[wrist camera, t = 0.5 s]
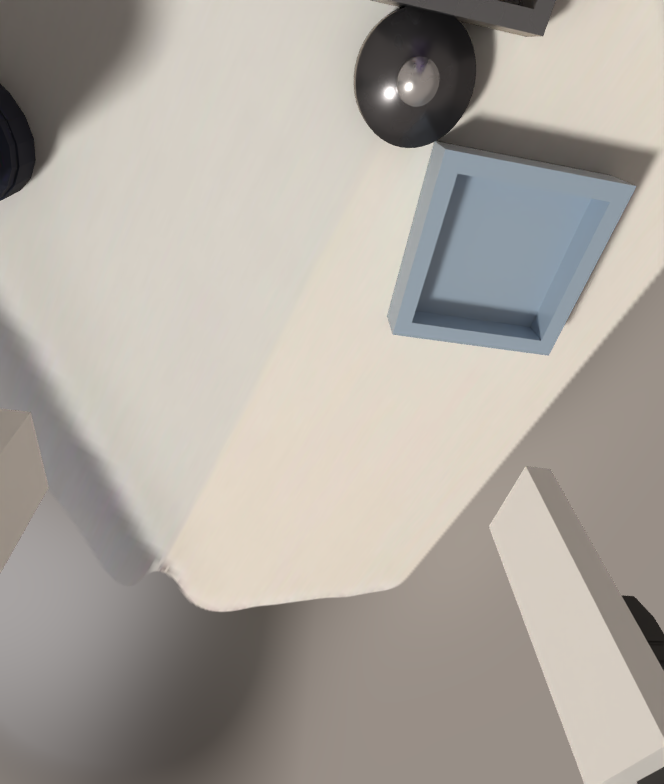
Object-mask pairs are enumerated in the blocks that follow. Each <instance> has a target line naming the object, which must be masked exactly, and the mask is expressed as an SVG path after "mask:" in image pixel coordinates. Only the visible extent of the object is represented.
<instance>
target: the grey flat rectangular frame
mask: <svg viewBox="0 0 664 784" xmlns="http://www.w3.org/2000/svg"><path fill="white" fill-rule="evenodd" d="M372 1H376V2H380V3H385V4H389V5H393V6H398V7H402V9H399V10H397V11H394V12H393V13H391V14H389V15H387V16H386V17H385V18H383V19H382V20H381V21H380V22H379V23H378V24H377V25H375V26H374V28H373V29H372V30H371V31H370V33H369V34H368V36H367V37H366V39H365V40H364V42H363V44H362V46H361V49H360V51H359V54H358V57H357V60H356V65H355V71H354V93H355V98H356V102H357V105H358V108H359V111H360V113H361V115H362V117H363V118H364V120H365V121H366V123H367V124H368V126H369V127H370V128H371V129H372V130H373V132H374V133H375V134H376V135H378V136H379V137H380V138H381V139H383V140H384V141H386V142H388V143H390V144H392V145H395V146H399V147H405V148H416V147H421V146H425V145H428V144H430V143H432V142H435V141H437V140H438V139H440V138H441V137H443V136H444V135H445V134H446V133H448V132H449V131H450V130H451V129H452V128H453V127H454V126H455V125H456V123H457V122H458V121H459V120H460V118H461V117H462V115H463V113H464V112H465V110H466V108H467V106H468V104H469V101H470V98H471V96H472V93H473V88H474V84H475V76H476V61H475V54H474V49H473V45H472V42H471V39H470V37H469V35H468V33H467V31H466V30H465V28H464V27H463V25H462V24H461V23H460V22H459V21H461V22H466V23H470V24H474V25H479V26H483V27H487V28H491V29H496V30H500V31H504V32H508V33H513V34H517V35H521V36H525V37H532V36H543V35H544V32H545V29H546V26H547V24H548V21H549V18H550V15H551V12H552V9H553V6H554V4H555V1H556V0H521V1H520V4H519V5H515V4H510V3H506V2H502V1H498V0H372Z"/></svg>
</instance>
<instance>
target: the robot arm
mask: <svg viewBox="0 0 664 784" xmlns="http://www.w3.org/2000/svg"><path fill="white" fill-rule="evenodd" d="M48 488H49V486H48V482H47V478H46V474H45V470H44V466H43V461H42V457H41V453H40V449H39V445H38V441H37V437H36V433H35V428H34V424H33V420H32V416H31V412H25V411H16V410H7V409H0V573H1V571H2V570H3V568H4V566H5V564H6V563H7V561H8V559H9V557H10V555H11V554H12V552H13V550H14V548H15V546H16V545H17V543H18V541H19V540H20V538H21V536H22V534H23V533H24V531H25V529H26V527H27V525H28V524H29V522H30V520H31V518H32V516H33V514H34V513H35V511H36V510H37V508H38V506H39V504H40V503H41V501H42V499H43V497H44V495H45V493H46V492H47V490H48ZM489 528H490V531H491V533H492V536H493V539H494V541H495V544H496V547H497V549H498V552H499V555H500V558H501V560H502V563H503V566H504V568H505V571H506V574H507V576H508V579H509V582H510V585H511V587H512V590H513V593H514V595H515V598H516V601H517V603H518V606H519V609H520V611H521V614H522V617H523V619H524V622H525V625H526V628H527V630H528V633H529V636H530V638H531V641H532V644H533V647H534V649H535V652H536V654H537V657H538V660H539V663H540V665H541V668H542V671H543V673H544V676H545V679H546V682H547V684H548V687H549V690H550V692H551V695H552V698H553V700H554V703H555V706H556V708H557V711H558V714H559V717H560V719H561V722H562V725H563V727H564V730H565V733H566V736H567V738H568V741H569V744H570V746H571V749H572V752H573V754H574V757H575V759H576V762H577V765H578V768H579V771H580V773H581V776H582V779H583V781H584V784H635V783H638V784H664V634H663V632H662V630H661V628H660V627H659V625H658V623H657V622H656V620H655V619H654V617H653V616H652V615H651V614H650V613H649V612H648V611H647V610H646V609H645V607H643V605H642V604H641V603H640V602H639V601H638V600H637V599H636V598H635V597H634V596H621V594H620V592H619V590H618V589H617V587H616V585H615V583H614V581H613V580H612V578H611V576H610V574H609V573H608V571H607V569H606V567H605V565H604V564H603V562H602V560H601V558H600V556H599V555H598V553H597V551H596V549H595V548H594V546H593V544H592V542H591V540H590V539H589V537H588V535H587V533H586V532H585V530H584V528H583V526H582V525H581V523H580V521H579V519H578V517H577V515H576V514H575V512H574V510H573V508H572V507H571V505H570V503H569V501H568V499H567V498H566V496H565V494H564V492H563V491H562V489H561V487H560V485H559V483H558V482H557V480H556V478H555V476H554V474H553V473H552V471H551V469H547V468H537V467H528V466H526V467H525V468H524V470H523V472H522V473H521V475H520V477H519V478H518V480H517V481H516V483H515V485H514V486H513V488H512V490H511V492H510V493H509V495H508V496H507V498H506V499H505V501H504V503H503V504H502V506H501V508H500V509H499V511H498V513H497V514H496V516H495V517H494V519H493V521H492V522H491V524H490V526H489Z"/></svg>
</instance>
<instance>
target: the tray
mask: <svg viewBox="0 0 664 784" xmlns="http://www.w3.org/2000/svg"><path fill="white" fill-rule="evenodd" d="M635 188H636V186H635V185H633V184H630V183H628V182H626V181H623V180H621V179H619V178H616V177H614V176H611V175H606V174H601V173H596V172H591V171H586V170H580V169H575V168H570V167H565V166H560V165H555V164H550V163H545V162H540V161H535V160H529V159H524V158H519V157H514V156H509V155H504V154H499V153H494V152H489V151H484V150H478V149H473V148H468V147H463V146H458V145H453V144H448V143H443V142H438V141H435V142H434V145H433V149H432V152H431V156H430V160H429V163H428V167H427V171H426V175H425V178H424V182H423V186H422V189H421V193H420V197H419V200H418V204H417V208H416V211H415V215H414V219H413V223H412V226H411V230H410V234H409V237H408V241H407V245H406V248H405V252H404V256H403V260H402V263H401V267H400V271H399V274H398V278H397V282H396V285H395V289H394V293H393V297H392V300H391V304H390V308H389V311H388V315H387V318H388V321H389V324H390V328H391V331H392V334H393V335H400V336H408V337H415V338H422V339H430V340H437V341H445V342H452V343H459V344H467V345H474V346H482V347H489V348H496V349H504V350H511V351H519V352H526V353H534V354H541V355H548V356H549V354H550V352H551V350H552V348H553V346H554V344H555V342H556V340H557V338H558V337H559V335H560V333H561V331H562V329H563V327H564V325H565V323H566V321H567V319H568V317H569V315H570V313H571V311H572V310H573V308H574V306H575V304H576V302H577V300H578V298H579V296H580V294H581V292H582V290H583V288H584V286H585V285H586V283H587V281H588V279H589V277H590V275H591V273H592V271H593V269H594V267H595V265H596V263H597V261H598V259H599V258H600V256H601V254H602V252H603V250H604V248H605V246H606V244H607V242H608V240H609V238H610V236H611V234H612V232H613V231H614V229H615V227H616V225H617V223H618V221H619V219H620V217H621V215H622V213H623V211H624V209H625V207H626V206H627V204H628V202H629V200H630V198H631V196H632V194H633V192H634V190H635Z"/></svg>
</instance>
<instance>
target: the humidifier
mask: <svg viewBox="0 0 664 784" xmlns="http://www.w3.org/2000/svg"><path fill="white" fill-rule="evenodd" d="M34 164H35V149H34V138H33V136H32V133H31V130H30V128H29V125H28V123H27V120H26V117H25V115H24V114H23V112H22V111H21V109H20V108H19V106H18V105H17V103H16V102H15V100H14V99H13V97H12V96H11V94H10V93H9V92H8V91H7V90H6V89H5V88H4V87H3V86H2V85H1V84H0V201H1V200H3V199H5V198H7V197H9V196H11V195H12V194H14V193H16V192H18V191H20V190H21V189H22V188H23V186H24V185H25V184H26V183H27V182H28V180H29V179H30V178H31V175H32V171H33V167H34Z"/></svg>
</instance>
